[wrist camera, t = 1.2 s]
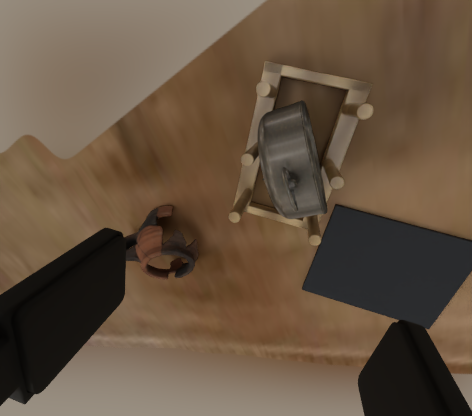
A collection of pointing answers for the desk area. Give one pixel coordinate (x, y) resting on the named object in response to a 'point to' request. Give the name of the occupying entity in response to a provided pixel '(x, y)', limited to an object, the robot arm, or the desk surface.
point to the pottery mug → (160, 247)
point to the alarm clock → (291, 162)
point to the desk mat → (388, 266)
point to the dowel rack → (335, 150)
